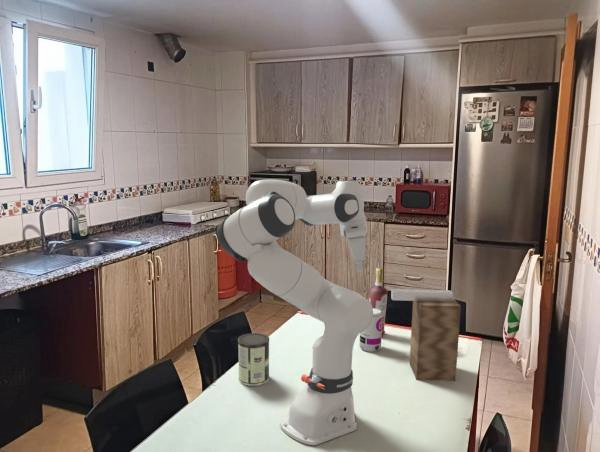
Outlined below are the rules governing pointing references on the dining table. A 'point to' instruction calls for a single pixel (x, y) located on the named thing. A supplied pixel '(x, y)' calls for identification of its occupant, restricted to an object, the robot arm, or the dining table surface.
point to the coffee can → (253, 359)
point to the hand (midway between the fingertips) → (359, 269)
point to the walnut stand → (434, 339)
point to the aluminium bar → (421, 295)
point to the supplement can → (372, 333)
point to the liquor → (379, 296)
